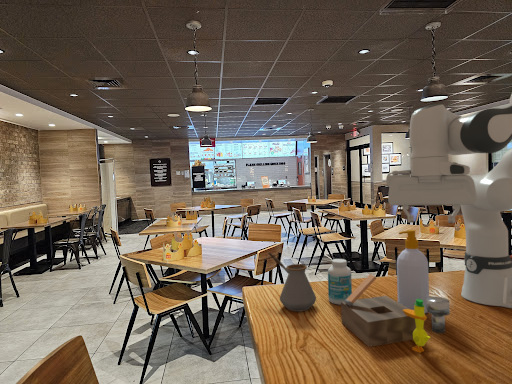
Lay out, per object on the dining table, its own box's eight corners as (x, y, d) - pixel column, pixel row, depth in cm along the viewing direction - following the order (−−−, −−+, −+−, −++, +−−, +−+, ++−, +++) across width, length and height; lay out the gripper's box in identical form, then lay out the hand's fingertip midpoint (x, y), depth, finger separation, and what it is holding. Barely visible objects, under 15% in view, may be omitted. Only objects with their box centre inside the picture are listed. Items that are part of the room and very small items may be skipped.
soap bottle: (389, 308, 104) (387, 230, 103) (410, 301, 108) (408, 226, 107) (414, 317, 97) (412, 233, 95) (436, 310, 101) (434, 230, 100)
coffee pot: (324, 307, 107) (322, 260, 106) (295, 317, 101) (293, 266, 100) (283, 290, 125) (281, 249, 124) (256, 297, 119) (254, 254, 118)
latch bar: (372, 276, 95) (369, 273, 95) (377, 278, 93) (374, 275, 92) (346, 304, 94) (343, 301, 93) (350, 307, 91) (347, 304, 91)
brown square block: (386, 316, 98) (386, 295, 98) (420, 338, 85) (419, 314, 84) (341, 323, 95) (341, 301, 95) (368, 346, 82) (368, 322, 81)
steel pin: (439, 325, 91) (438, 295, 91) (455, 333, 86) (454, 302, 86) (422, 327, 90) (421, 298, 90) (437, 336, 85) (436, 305, 85)
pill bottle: (328, 305, 109) (326, 263, 108) (329, 297, 116) (327, 257, 115) (352, 306, 107) (351, 263, 106) (351, 297, 114) (350, 257, 114)
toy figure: (399, 346, 81) (398, 296, 81) (409, 341, 83) (407, 293, 83) (426, 358, 76) (425, 305, 75) (436, 353, 77) (434, 301, 77)
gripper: (385, 171, 90) (386, 223, 90) (477, 166, 81) (478, 224, 82) (386, 171, 95) (388, 220, 96) (473, 166, 87) (474, 221, 87)
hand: (430, 222), depth 89 cm, fingers open, 8 cm apart
